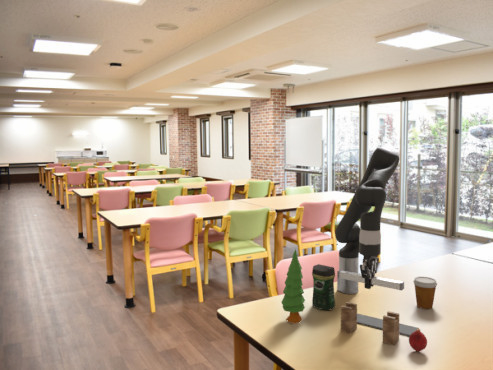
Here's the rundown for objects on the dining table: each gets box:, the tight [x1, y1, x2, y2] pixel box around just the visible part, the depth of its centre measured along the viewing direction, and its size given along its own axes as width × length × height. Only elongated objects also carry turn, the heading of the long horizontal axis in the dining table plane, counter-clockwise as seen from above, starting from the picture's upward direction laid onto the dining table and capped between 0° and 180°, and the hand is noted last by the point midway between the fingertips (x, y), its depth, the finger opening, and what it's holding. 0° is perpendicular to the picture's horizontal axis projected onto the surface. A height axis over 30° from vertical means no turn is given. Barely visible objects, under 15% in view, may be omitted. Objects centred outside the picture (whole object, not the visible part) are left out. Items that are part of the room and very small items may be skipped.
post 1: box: [340, 301, 358, 334], centre depth 158 cm, size 4×6×10 cm, turn 143°
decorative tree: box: [281, 248, 306, 324], centre depth 166 cm, size 10×9×30 cm
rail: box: [336, 269, 405, 291], centre depth 152 cm, size 24×3×3 cm, turn 53°
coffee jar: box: [311, 263, 336, 311], centre depth 180 cm, size 10×8×19 cm
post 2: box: [382, 310, 400, 346], centre depth 148 cm, size 4×6×10 cm, turn 143°
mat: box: [357, 312, 420, 337], centre depth 162 cm, size 28×8×1 cm, turn 53°
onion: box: [408, 328, 428, 353], centre depth 140 cm, size 6×6×8 cm
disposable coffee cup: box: [413, 276, 438, 310], centre depth 179 cm, size 10×10×12 cm
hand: (369, 287), depth 152 cm, fingers closed on rail, 2 cm apart
